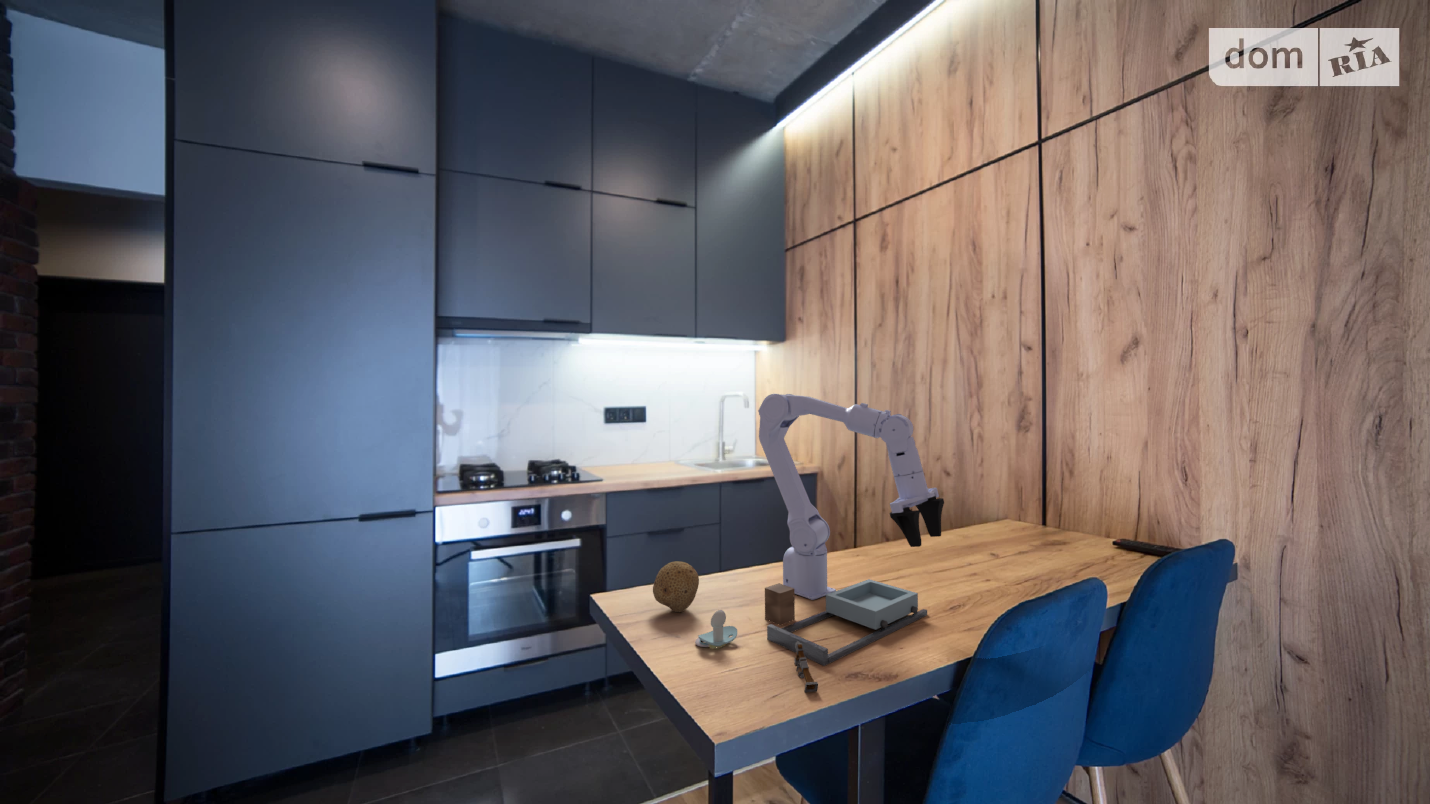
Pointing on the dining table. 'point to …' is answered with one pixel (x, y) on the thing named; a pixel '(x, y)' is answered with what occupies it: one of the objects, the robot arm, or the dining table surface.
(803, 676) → the wooden post with brackets
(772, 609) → the walnut block
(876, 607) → the cart
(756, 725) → the dining table surface
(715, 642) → the pacifier
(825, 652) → the rail
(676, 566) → the natural sponge
